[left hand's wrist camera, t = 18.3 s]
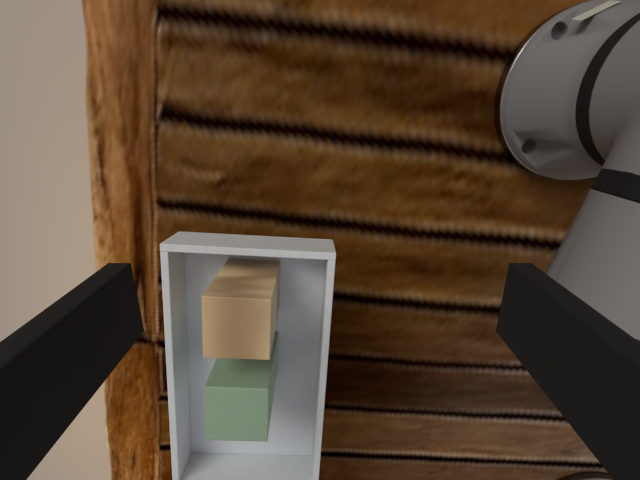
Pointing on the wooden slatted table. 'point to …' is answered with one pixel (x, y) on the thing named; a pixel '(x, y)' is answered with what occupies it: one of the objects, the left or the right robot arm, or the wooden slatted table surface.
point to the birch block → (241, 310)
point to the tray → (292, 365)
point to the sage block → (240, 398)
